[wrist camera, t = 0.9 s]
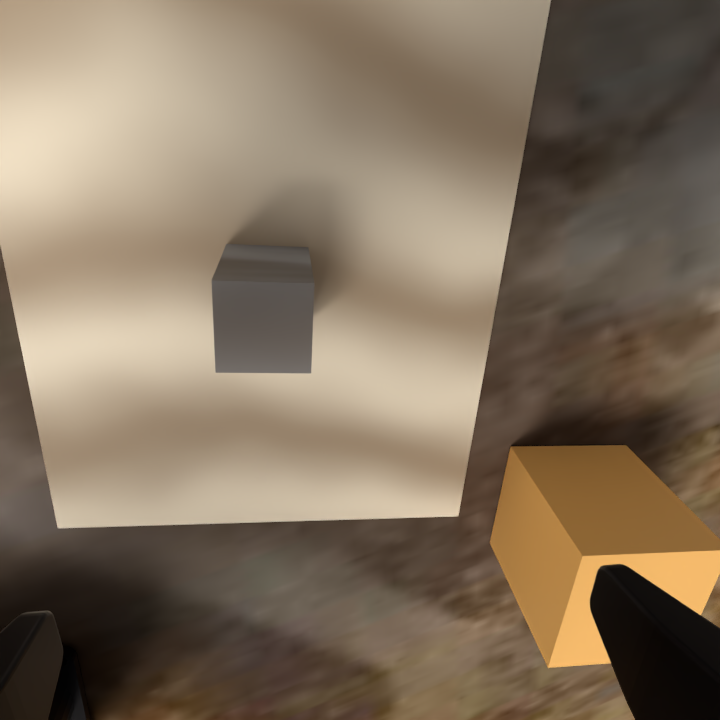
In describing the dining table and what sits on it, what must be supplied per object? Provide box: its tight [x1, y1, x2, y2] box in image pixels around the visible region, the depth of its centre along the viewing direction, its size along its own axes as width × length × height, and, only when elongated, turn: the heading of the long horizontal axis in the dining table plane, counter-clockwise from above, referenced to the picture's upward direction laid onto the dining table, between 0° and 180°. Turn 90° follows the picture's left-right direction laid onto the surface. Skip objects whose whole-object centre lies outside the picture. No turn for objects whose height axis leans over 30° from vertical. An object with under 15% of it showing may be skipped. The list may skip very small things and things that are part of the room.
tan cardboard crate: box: [490, 445, 720, 668], centre depth 22 cm, size 5×5×6 cm
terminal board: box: [0, 0, 551, 528], centre depth 17 cm, size 20×16×5 cm
